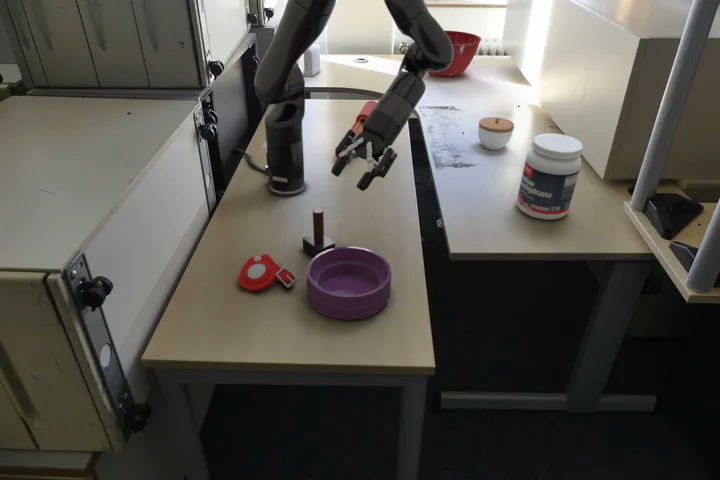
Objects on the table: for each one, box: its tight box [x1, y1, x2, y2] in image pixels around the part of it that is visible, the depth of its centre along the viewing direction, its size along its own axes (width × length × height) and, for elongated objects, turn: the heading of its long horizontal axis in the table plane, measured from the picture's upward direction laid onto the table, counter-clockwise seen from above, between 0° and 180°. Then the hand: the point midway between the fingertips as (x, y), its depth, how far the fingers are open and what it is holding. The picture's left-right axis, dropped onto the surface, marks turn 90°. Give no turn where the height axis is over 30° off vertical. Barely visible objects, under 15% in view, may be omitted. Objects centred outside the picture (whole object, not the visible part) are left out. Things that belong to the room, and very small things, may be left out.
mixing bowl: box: [428, 30, 482, 78], centre depth 233 cm, size 28×28×15 cm
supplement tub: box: [516, 132, 584, 221], centre depth 130 cm, size 13×13×18 cm
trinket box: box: [477, 116, 515, 151], centre depth 166 cm, size 11×11×9 cm
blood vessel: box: [334, 100, 378, 160], centre depth 172 cm, size 42×5×5 cm, turn 167°
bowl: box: [306, 246, 392, 320], centre depth 104 cm, size 16×16×6 cm
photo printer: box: [303, 42, 321, 77], centre depth 228 cm, size 10×4×12 cm, turn 160°
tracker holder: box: [238, 253, 299, 293], centre depth 108 cm, size 12×4×10 cm
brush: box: [302, 207, 336, 259], centre depth 114 cm, size 6×4×11 cm
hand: (346, 181), depth 113 cm, fingers open, 8 cm apart
